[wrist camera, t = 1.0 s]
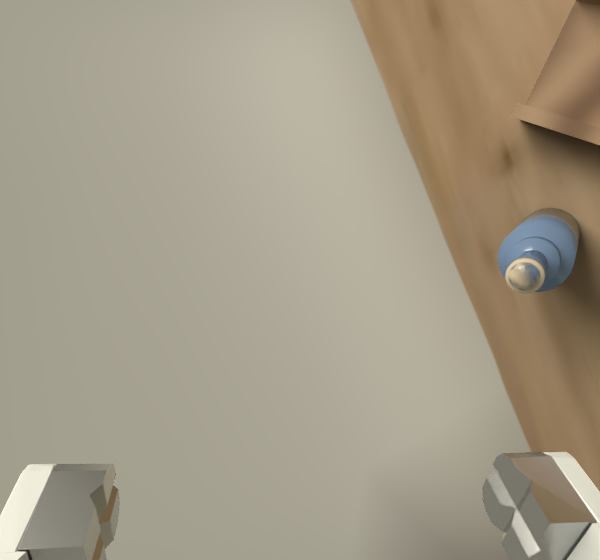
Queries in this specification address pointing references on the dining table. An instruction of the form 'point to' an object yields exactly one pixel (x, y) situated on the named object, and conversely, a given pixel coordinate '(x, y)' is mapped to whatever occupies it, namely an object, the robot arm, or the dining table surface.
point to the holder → (570, 79)
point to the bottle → (540, 251)
